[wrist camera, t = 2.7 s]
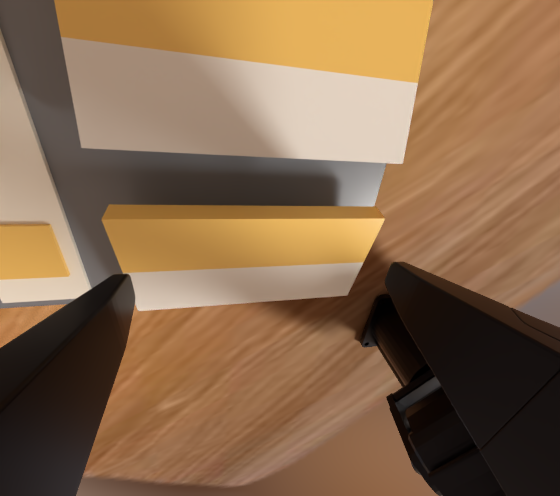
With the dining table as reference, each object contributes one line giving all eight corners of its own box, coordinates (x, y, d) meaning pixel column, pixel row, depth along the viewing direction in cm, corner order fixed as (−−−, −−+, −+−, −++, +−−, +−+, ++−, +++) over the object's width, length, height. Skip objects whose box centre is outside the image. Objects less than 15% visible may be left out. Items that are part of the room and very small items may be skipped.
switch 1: (388, 163, 12) (402, 163, 11) (94, 148, 9) (81, 148, 9) (416, 1, 10) (436, -15, 9) (56, -75, 8) (34, -107, 7)
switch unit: (334, 261, 21) (355, 292, 17) (22, 274, 16) (-25, 319, 13) (394, 7, 13) (450, -17, 10) (-170, -105, 8) (-392, -215, 5)
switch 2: (341, 283, 17) (347, 295, 16) (141, 295, 15) (138, 311, 14) (376, 206, 13) (385, 218, 12) (109, 204, 11) (101, 219, 10)
